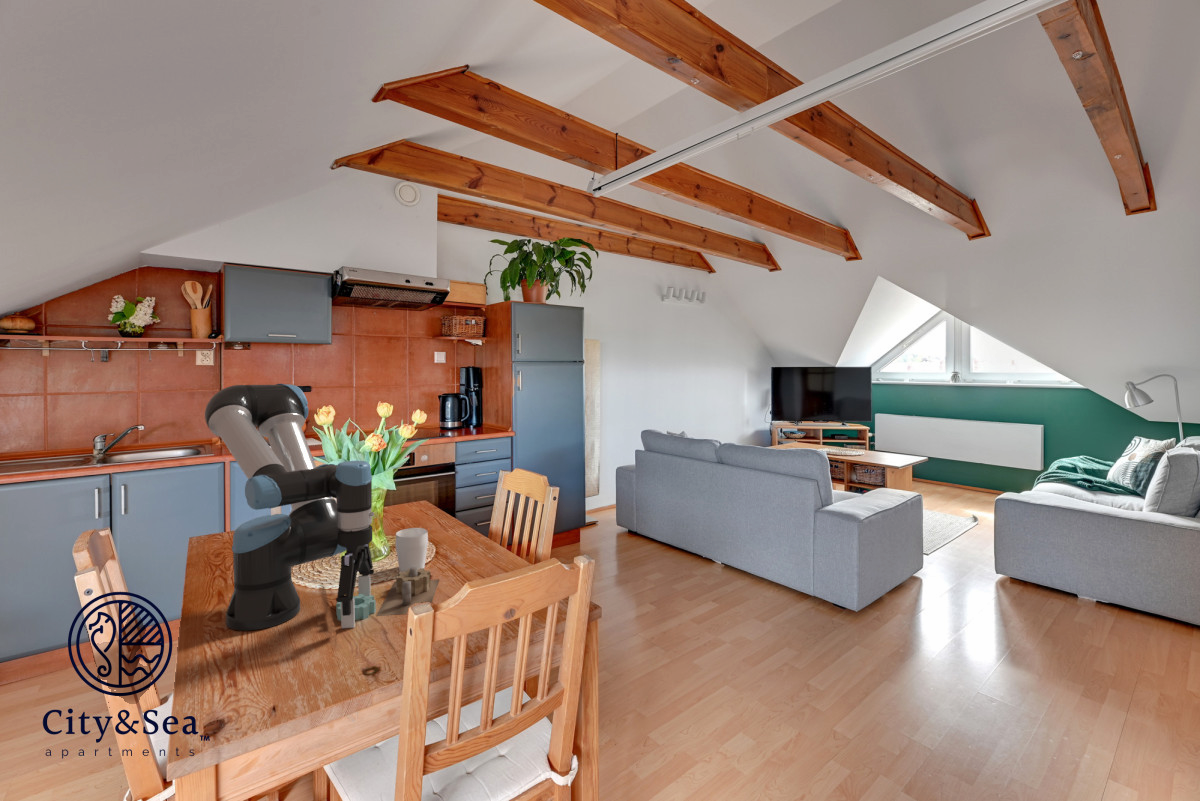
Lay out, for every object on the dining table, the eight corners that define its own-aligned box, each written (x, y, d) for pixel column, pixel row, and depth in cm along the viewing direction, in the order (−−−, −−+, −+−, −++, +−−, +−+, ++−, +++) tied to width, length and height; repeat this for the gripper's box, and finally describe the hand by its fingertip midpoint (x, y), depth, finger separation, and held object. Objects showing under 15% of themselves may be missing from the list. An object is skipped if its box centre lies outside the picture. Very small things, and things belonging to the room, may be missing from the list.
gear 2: (400, 598, 135) (399, 583, 135) (393, 586, 142) (393, 571, 142) (434, 591, 139) (434, 576, 139) (426, 579, 147) (425, 565, 146)
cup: (417, 580, 149) (417, 538, 149) (389, 577, 151) (388, 536, 150) (433, 568, 158) (433, 529, 157) (406, 565, 160) (406, 526, 159)
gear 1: (331, 627, 122) (330, 611, 122) (342, 610, 130) (342, 595, 130) (370, 625, 123) (370, 609, 123) (379, 608, 132) (379, 593, 131)
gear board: (376, 620, 126) (375, 593, 125) (394, 585, 145) (394, 562, 145) (428, 617, 128) (428, 590, 127) (439, 583, 147) (439, 560, 147)
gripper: (356, 543, 114) (358, 638, 115) (384, 512, 138) (385, 590, 139) (319, 544, 112) (321, 641, 114) (353, 513, 137) (355, 592, 138)
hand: (356, 613), depth 127 cm, fingers open, 13 cm apart
